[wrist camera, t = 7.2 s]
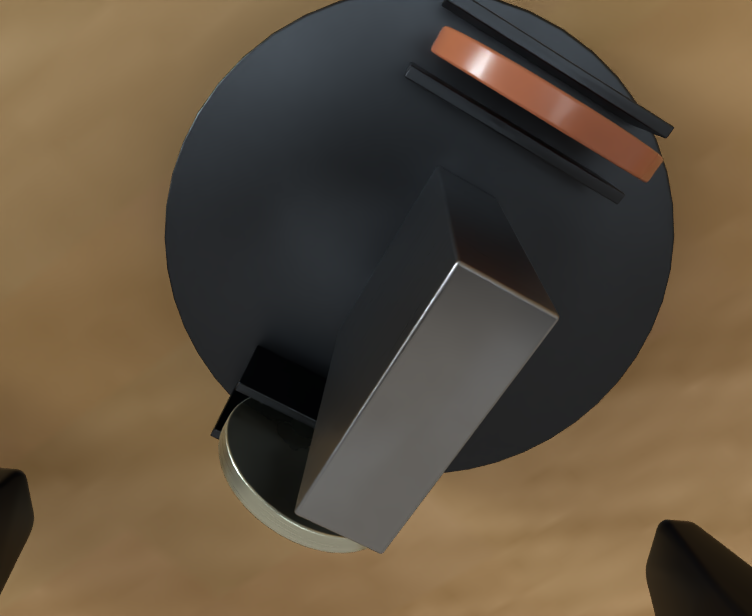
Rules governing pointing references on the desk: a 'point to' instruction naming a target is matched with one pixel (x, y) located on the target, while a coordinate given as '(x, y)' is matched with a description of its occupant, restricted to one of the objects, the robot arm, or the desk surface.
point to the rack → (411, 253)
